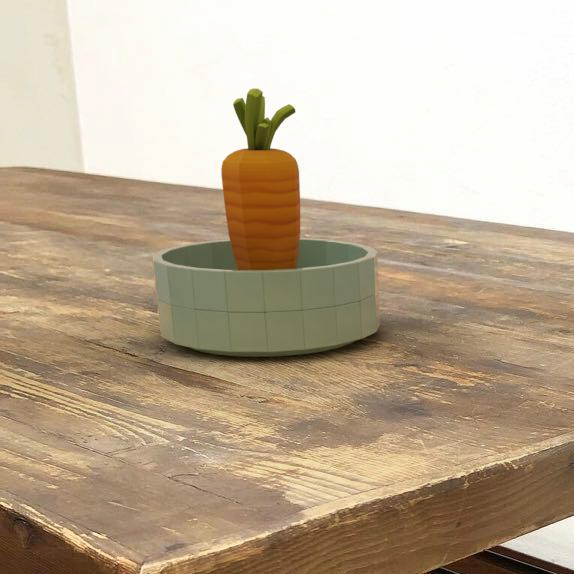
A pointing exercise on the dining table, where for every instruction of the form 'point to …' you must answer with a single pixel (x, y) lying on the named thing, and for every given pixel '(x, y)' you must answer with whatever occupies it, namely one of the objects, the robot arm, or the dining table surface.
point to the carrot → (262, 192)
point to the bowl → (267, 299)
